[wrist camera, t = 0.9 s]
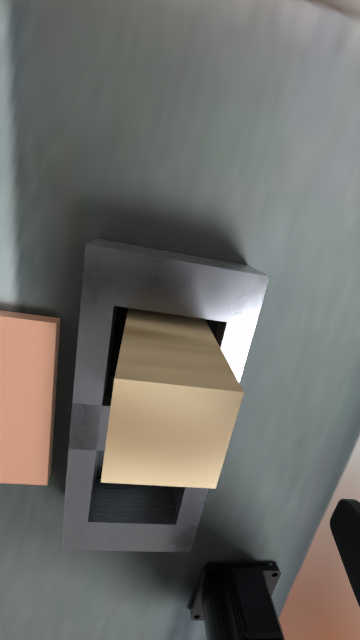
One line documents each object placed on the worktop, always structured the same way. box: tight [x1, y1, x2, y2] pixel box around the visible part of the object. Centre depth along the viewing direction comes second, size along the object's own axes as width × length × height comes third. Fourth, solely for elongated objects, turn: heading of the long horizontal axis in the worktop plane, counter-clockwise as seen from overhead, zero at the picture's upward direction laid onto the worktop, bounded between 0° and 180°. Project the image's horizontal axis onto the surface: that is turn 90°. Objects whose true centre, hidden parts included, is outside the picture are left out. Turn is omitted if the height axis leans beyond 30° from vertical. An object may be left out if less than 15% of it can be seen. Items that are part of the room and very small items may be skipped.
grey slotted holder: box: [60, 238, 269, 552], centre depth 17 cm, size 18×8×3 cm, turn 169°
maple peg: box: [101, 308, 244, 489], centre depth 13 cm, size 4×4×8 cm
